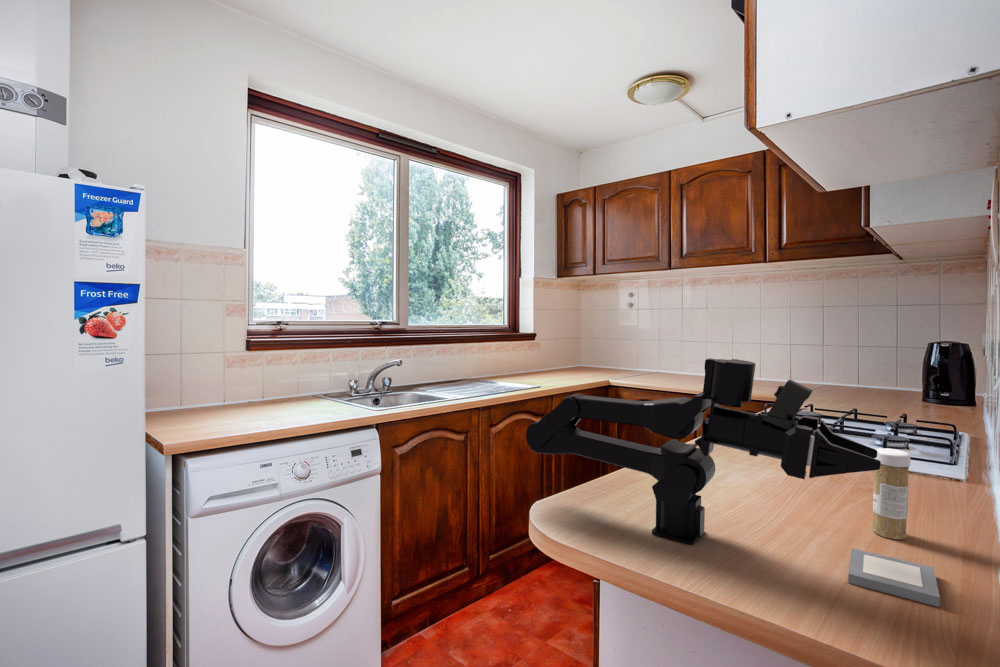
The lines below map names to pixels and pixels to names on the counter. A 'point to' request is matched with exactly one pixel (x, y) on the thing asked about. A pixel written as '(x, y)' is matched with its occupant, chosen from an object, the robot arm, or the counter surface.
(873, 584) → the tile
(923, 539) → the counter surface
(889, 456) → the sprinkles bottle
